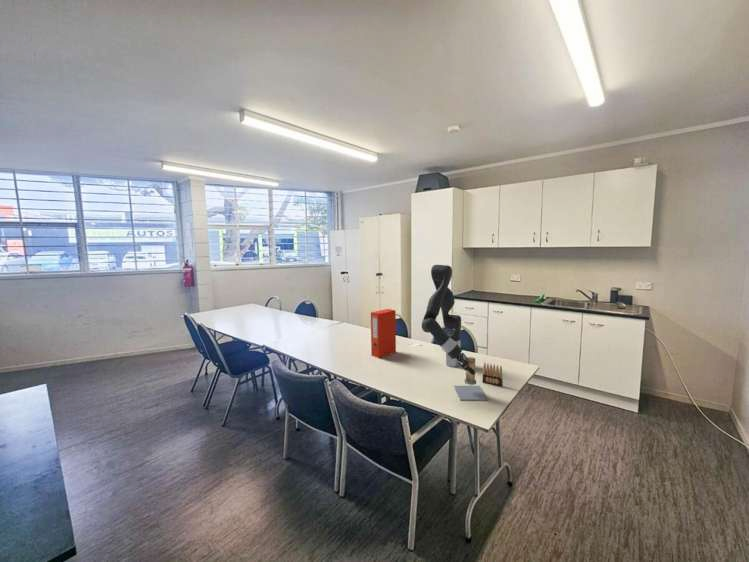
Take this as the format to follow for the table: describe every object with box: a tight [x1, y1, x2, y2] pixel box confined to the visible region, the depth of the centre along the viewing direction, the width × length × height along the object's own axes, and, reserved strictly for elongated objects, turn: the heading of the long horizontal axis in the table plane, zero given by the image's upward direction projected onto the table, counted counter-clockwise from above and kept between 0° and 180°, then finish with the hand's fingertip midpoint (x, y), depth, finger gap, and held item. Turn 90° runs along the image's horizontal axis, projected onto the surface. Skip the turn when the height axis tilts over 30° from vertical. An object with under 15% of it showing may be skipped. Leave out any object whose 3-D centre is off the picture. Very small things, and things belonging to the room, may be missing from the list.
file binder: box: [370, 308, 397, 359], centre depth 231 cm, size 8×17×32 cm, turn 132°
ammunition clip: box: [482, 362, 504, 388], centre depth 179 cm, size 11×2×12 cm, turn 54°
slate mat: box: [453, 385, 489, 402], centre depth 169 cm, size 16×14×1 cm
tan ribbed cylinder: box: [464, 356, 477, 386], centre depth 168 cm, size 6×6×13 cm
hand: (474, 371), depth 167 cm, fingers closed on tan ribbed cylinder, 4 cm apart
